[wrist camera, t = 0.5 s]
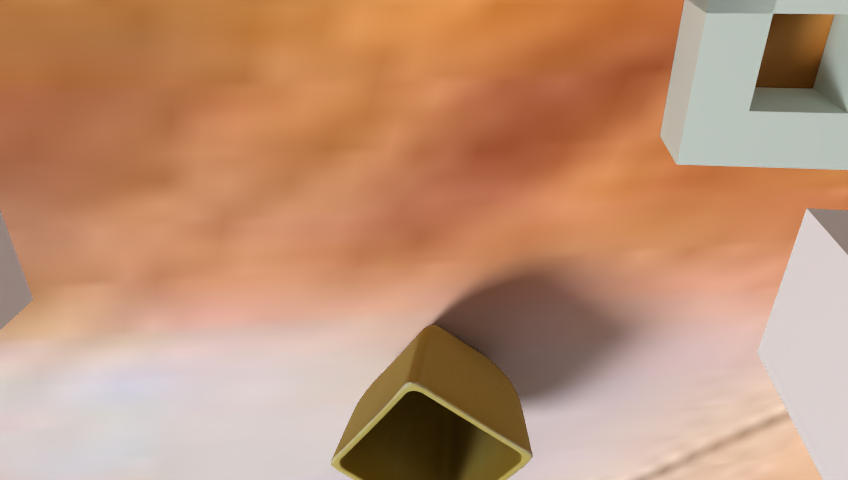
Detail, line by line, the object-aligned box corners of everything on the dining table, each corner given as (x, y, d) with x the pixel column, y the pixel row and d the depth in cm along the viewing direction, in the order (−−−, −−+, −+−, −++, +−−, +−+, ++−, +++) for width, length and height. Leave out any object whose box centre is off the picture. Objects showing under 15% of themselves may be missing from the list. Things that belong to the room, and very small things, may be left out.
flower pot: (427, 287, 42) (410, 381, 34) (531, 355, 44) (536, 459, 36) (357, 365, 46) (326, 465, 38) (454, 425, 48) (444, 531, 40)
